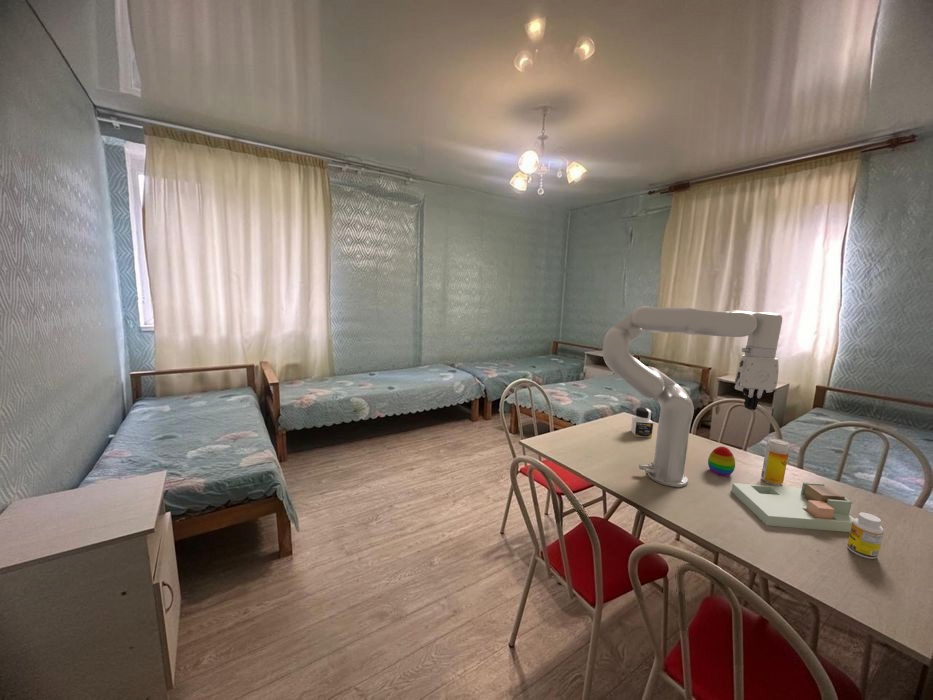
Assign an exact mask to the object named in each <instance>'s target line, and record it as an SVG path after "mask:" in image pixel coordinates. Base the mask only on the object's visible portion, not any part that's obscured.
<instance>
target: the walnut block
mask: <svg viewBox="0 0 933 700" xmlns="http://www.w3.org/2000/svg"><path fill="white" fill-rule="evenodd" d="M804 498H805V499H807V500H814V501H823V502H825V503H826V504H827V500H828V499H829V500H843V501H844V499H845V498H846V497H845V496H844V495H842V494H841V493H840V492H838V491H837V490H835V489H834V488H832V487H830V486H829V485H826V486H822V485H808V484H807V486H806V491H805V496H804Z"/></svg>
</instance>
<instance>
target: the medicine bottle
mask: <svg viewBox="0 0 933 700" xmlns="http://www.w3.org/2000/svg"><path fill="white" fill-rule="evenodd" d="M651 414H652V411H651V410H650V409H649V408H648V407H647V408H646V407H637V408H636V410H635V416H634V415H633V416H632V418H631V427H630V431H631V432H632V434H633V435H634V437H638V438H639V437H641V438H649V439H650V438H652V436H653V430H654V422H653V420H651Z"/></svg>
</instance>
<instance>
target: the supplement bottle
mask: <svg viewBox="0 0 933 700" xmlns="http://www.w3.org/2000/svg"><path fill="white" fill-rule="evenodd" d="M854 518H855V517H854ZM881 524H882V519H880V518H879V517H878V516H876V515H874V514H871V513H869V512H868V513H867V512H859V513H858V515H857V517H856V518H855V519H853V522H852V526H851V531H850V532H849V536H848V540H847V548H848V549H849V551H851V552H852V553H853V554H855V555H857V556H859V557H861V558H864V559H871V560H873V559H877V558H878V556H879V552H880V548H881V544H882V540H883V536H884V532H885V531H884V528H883V527H882V526H881Z"/></svg>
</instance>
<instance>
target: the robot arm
mask: <svg viewBox="0 0 933 700" xmlns="http://www.w3.org/2000/svg"><path fill="white" fill-rule="evenodd" d="M782 324H783V315H781V314H780V313H776V312H765V311H758V312H752V311H744V310H740V309H739V310H738V309H731V310H728V311H714V310H713V311H712V310H703V309H697V308H693V307H665V306H662V307H661V306H659V307H657V306H648V305H641V306H638V307H637V308H635V309H634V310H633V311H630V313H629V314H628V315H626V316H625V317H624V318H622V319H621V320H620V321H618V322H617V323H616V324H614V325H613V326H611V328H609V329H608V330H607V332H606V334H605V336H604V338H603V339H604V341H603V345H602V357H603V360H604V363H605V364H606V366H607V367H608V368H609V370H610V371H611V372H612V373H614V374H615V375H616V376H617V377H618V378H620V379H621V380H622V381H623V382H625V383H626V384H627V385H628V386H630V387H631V388H633V390H635V391H636V392H637V393H638V394H639V395H641V396H642V397H644V398H647V399H648V398H649V399H653V400H654V401H655V402H656V403H658V404H659V406H660V413H659V418H658V423H657V424H658V425H657V432H656V441H655V449H654V450H655V452H654V458H653V460H652V461H650V463H648V464H643V463H639V464H638V470H641V471H644V472H645V473H647V476H648V477H649V478H650V479H651V480H653V481H654V482H656V483H658V484H660V485H664V486H665V487H666V486H667V487H671V488H672V487H673V488H681V487H686V486H687V485H688V483H689V479H688V478H689V477H687V476H686V475H685V467H686V466H685V465H686V461H687V460H686V458H687V452H688V447H689V446H688V444H689V437H690V431H691V424H692V421H693V418H694V417H693V416H694V412H695V407H694V403H693V401H692V398H691V397H690V396H689V394H688V392H687V391H686V390H685V388H683V387H682V386H680V385H679V384H678V383H677V382H675V380H673V379H671V378H670V377H668V375H666V374H665V373H663V372H662V371H661V370H659V369H657V368H656V367H653V366H649V365H648V366H647V365H645V364H644V363H642V362H641V361H640V360H639V359H638V358H636V357H635V356H633V355H632V354H631V353H630V350H629V348H630V346H631V343H632V342H633V341H635V340H636V339H637V338H639V337H640V336H642V334H644V333H658V334H661V333H663V334H680V335H682V334H683V335H693V336H697V335H698V336H708V337H709V336H710V337H730V338H743V337H744V338H745V337H747V342H746V345H745V347H742V348H741V352H742V353H744V354H742V356H741V358H740V360H739V363H738V366H737V369H736V373H735V378H734V379H735V380H734V383H735V385H734V389H735V390H737V391H740V392H742V393H743V395H745V398H744V402H743V405H744V408H745V409H747V410H749V411H757V407H758V403H759V399H761V398H762V396H763V395H766V393H772V392H774V390H775V389H777V386H778V381H779V368H780V367H779V358H777V357H776V354H777V350H778V344H779V340H780V339H779V338H780V335H781V328H782Z"/></svg>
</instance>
